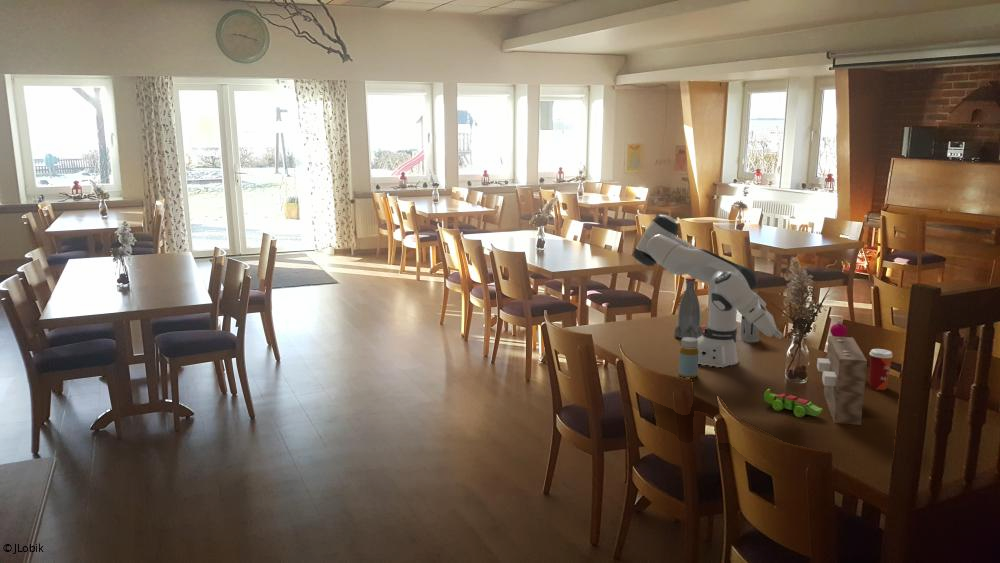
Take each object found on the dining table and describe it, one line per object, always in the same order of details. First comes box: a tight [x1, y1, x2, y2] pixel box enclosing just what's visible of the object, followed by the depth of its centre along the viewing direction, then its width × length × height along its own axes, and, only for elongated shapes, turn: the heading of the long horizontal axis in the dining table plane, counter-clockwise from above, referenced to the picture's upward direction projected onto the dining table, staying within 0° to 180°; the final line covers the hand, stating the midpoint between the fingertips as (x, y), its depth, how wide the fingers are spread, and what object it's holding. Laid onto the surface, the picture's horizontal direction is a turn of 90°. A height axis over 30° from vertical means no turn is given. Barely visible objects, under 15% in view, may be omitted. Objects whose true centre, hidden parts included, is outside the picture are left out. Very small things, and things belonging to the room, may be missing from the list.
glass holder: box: [738, 315, 760, 343], centre depth 326 cm, size 9×14×15 cm, turn 148°
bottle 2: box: [678, 337, 699, 379], centre depth 283 cm, size 7×7×15 cm
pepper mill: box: [825, 320, 848, 359], centre depth 288 cm, size 7×7×20 cm
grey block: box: [816, 357, 830, 373], centre depth 256 cm, size 6×5×3 cm
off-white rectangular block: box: [821, 371, 837, 386], centre depth 243 cm, size 6×5×3 cm
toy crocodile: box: [763, 388, 824, 418], centre depth 249 cm, size 20×7×6 cm, turn 42°
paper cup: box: [868, 348, 893, 391], centre depth 268 cm, size 8×8×14 cm
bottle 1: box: [674, 276, 703, 339], centre depth 332 cm, size 13×13×28 cm
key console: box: [823, 335, 868, 426], centre depth 248 cm, size 8×26×22 cm, turn 164°
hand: (780, 336), depth 258 cm, fingers closed
